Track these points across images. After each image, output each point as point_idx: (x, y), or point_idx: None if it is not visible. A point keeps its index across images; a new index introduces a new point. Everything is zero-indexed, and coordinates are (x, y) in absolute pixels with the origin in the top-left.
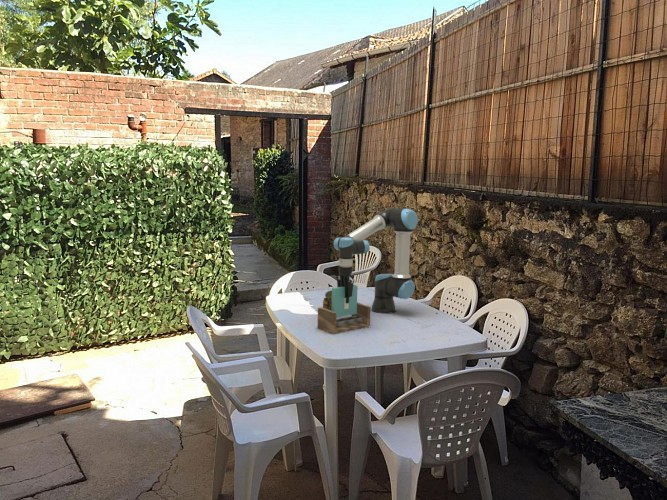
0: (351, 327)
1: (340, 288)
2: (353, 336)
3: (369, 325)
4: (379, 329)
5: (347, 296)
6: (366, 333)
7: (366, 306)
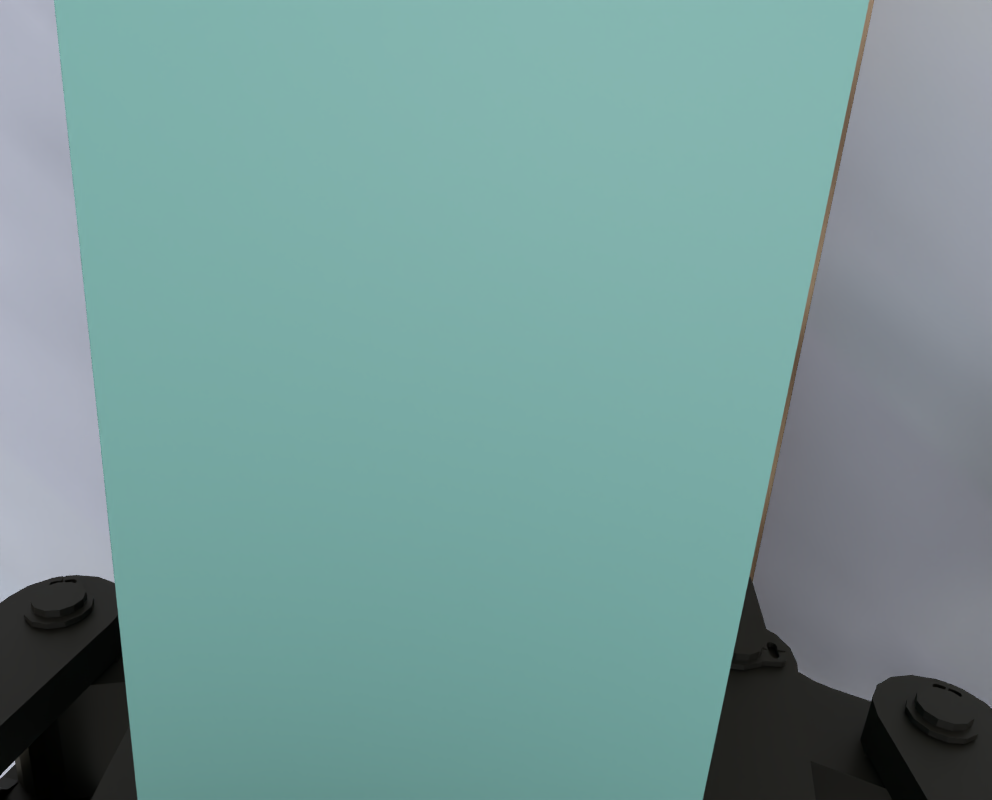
0: None
1: (162, 660)
2: (23, 34)
3: None
4: None
5: (113, 590)
6: (71, 343)
7: None
